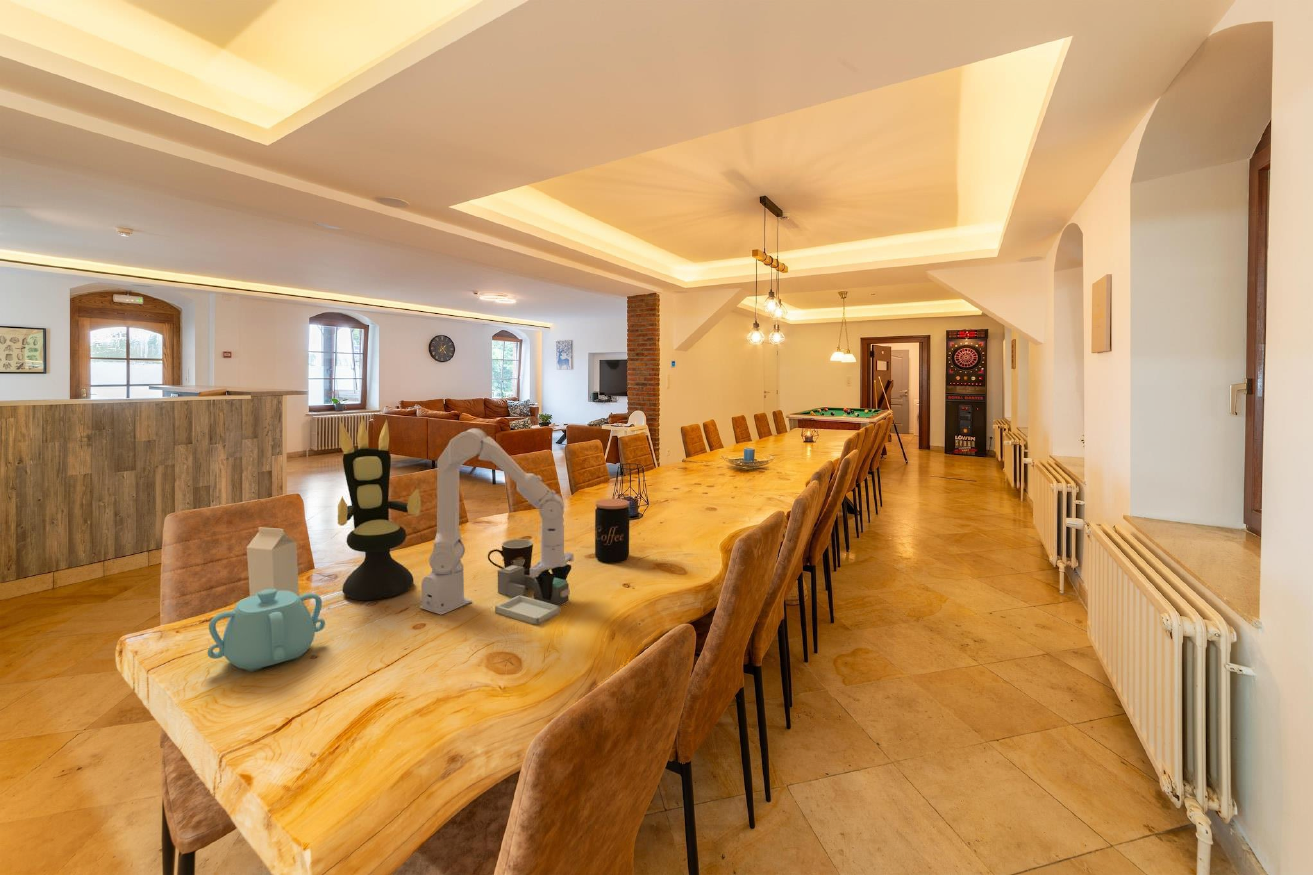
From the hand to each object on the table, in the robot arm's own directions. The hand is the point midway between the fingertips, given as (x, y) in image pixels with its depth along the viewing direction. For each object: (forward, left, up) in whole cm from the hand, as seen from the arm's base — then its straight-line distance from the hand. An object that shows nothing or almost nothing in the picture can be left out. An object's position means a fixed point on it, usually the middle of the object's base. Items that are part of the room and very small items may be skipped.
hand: (552, 595), depth 141 cm
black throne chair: (-18, +46, -2) cm, 49 cm away
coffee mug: (+7, +21, -2) cm, 22 cm away
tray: (-9, +1, -1) cm, 9 cm away
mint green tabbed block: (0, +1, -1) cm, 1 cm away
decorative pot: (-51, +30, -2) cm, 59 cm away
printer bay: (0, +11, -1) cm, 11 cm away
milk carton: (-37, +57, -2) cm, 68 cm away
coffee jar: (+36, +7, -2) cm, 37 cm away
